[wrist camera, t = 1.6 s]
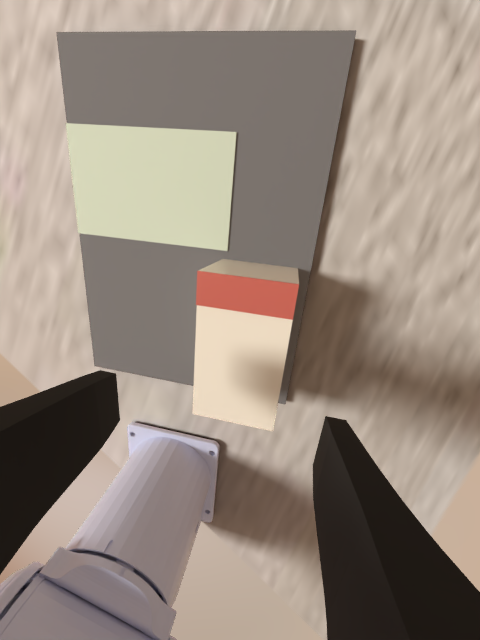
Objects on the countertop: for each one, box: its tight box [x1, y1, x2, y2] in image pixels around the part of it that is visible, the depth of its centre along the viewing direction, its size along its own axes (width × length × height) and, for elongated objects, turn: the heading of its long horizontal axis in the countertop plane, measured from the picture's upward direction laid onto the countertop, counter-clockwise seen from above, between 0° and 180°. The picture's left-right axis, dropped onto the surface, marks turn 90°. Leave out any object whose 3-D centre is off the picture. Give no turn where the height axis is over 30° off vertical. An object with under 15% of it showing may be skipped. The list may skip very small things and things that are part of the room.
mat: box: [57, 31, 356, 404], centre depth 16 cm, size 20×15×1 cm
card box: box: [193, 259, 299, 431], centre depth 15 cm, size 8×4×5 cm, turn 174°
